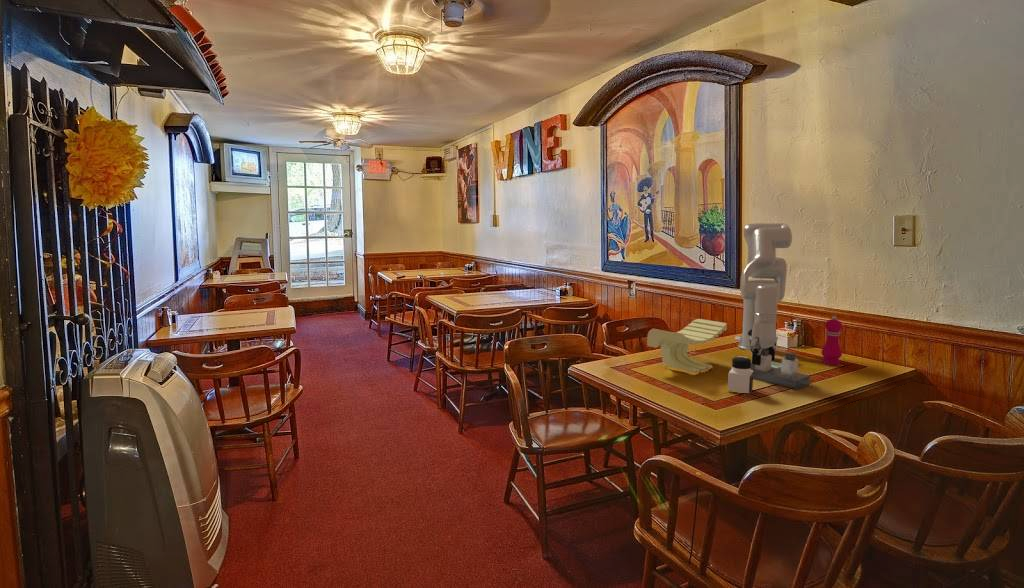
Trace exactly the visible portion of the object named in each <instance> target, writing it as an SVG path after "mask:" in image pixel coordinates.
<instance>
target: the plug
mask: <svg viewBox="0 0 1024 588" xmlns="http://www.w3.org/2000/svg"><path fill="white" fill-rule="evenodd" d="M760 355H761V365H755V370H760V371H764V372H767V371H770V370H771V361H772V360H771V359H772V355H769V350H766V349H762V351H761V353H760Z"/></svg>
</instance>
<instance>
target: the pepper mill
mask: <svg viewBox="0 0 1024 588" xmlns="http://www.w3.org/2000/svg"><path fill="white" fill-rule="evenodd" d="M824 328H825V329H826V330H825V332H826V333H825V335H826V341H825V343H824V345H823V347H822V349H821V355H822V356H823V357H822V358H821V360H822V361H821V362H822V364H823V363H824V365H826V364H829V365H828V366H839V365H840V364H841V360H840V358H841V357H842V356H843V352H842V351H843V350H842V349H841V346H840V344H839V337H840V336H841V330H842V328H843V324H842V322H841V321H840V320H838V319H837V316H836V315H832V316H831V319H829V320H827V321H826V322H825V323H824Z"/></svg>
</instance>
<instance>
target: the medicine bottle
mask: <svg viewBox="0 0 1024 588" xmlns="http://www.w3.org/2000/svg"><path fill="white" fill-rule="evenodd" d="M751 361H752V359H751V358H749V357H746V356H735V357H733V358H732V360H731V369H730V370H729V372H728V377H727V378H728V379H727V380H728V381H727V391H728V390H732V391H737V392H743V393H750V392H751V393H752V391H753V389H752V388H753V386H754V385H753V384H754V379H753V370H751ZM751 390H752V391H751ZM751 393H750V394H751Z"/></svg>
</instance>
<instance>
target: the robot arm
mask: <svg viewBox="0 0 1024 588" xmlns="http://www.w3.org/2000/svg"><path fill="white" fill-rule="evenodd" d="M743 236H744V239H745V242H746V244H747V251H748V252H747V262H746V263H747V265H746V266H745V267H744V268H743V270H742V272H741V275H740V296H741V298H742V299H743V300H742V302H743V313H742V336H738V335H736V336H735V337H734V341H735V342H738V345H737V347H738V348H739V349H742V350H745V351H750V352H751V351H752V352H751V353H752V354H751V361H752V364H754V365H761V355H760V353H761V351H762V349H766V348H768V349H766V350H769V355H772V359H771V361H772V362H775V357H776V354H775V353H776V349H777V347H776V346H777V344H778V343H777V342H778V340H779V337H778V336H777V324H776V323H777V319H778V318H777V317H778V303H779V302H781V301H782V300H784V298H785V293H786V282H787V272H788V267H787V266H788V265H787V261H786V259H784V258H782V257H778V256H777V255H776V249H788V248H790V247H791V245H792V242H793V233H792V230H791V228H790V227H789V225H788V224H787V223H784V222H783V223H781V222H779V223H771V222H770V223H765V222H764V223H761V222H760V223H759V222H757V223H749V224H746V225H745V226H744V227H743ZM749 278H753V279H749ZM751 329H752V337H751V344H750V341H749V338H750V337H749V335H748V332H749V330H751ZM759 346H760V347H759ZM750 347H751V349H750ZM757 349H759V350H758V351H757Z"/></svg>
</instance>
